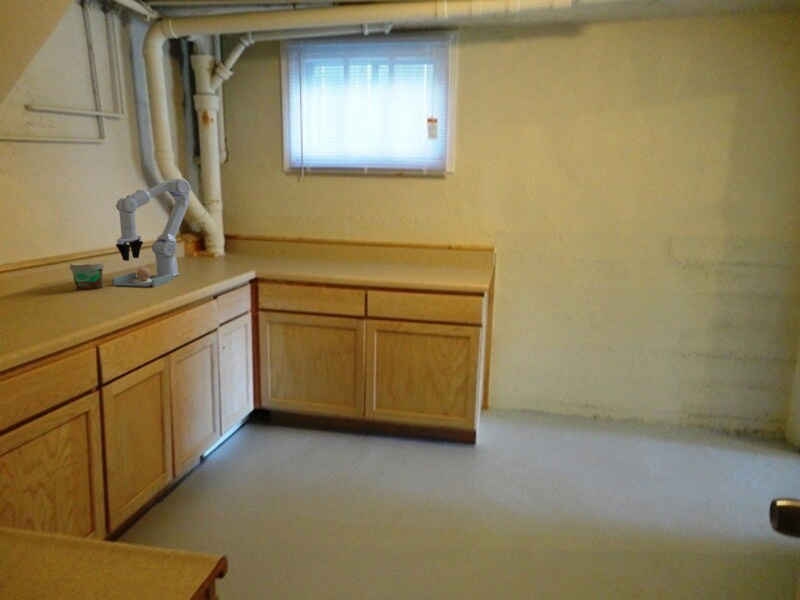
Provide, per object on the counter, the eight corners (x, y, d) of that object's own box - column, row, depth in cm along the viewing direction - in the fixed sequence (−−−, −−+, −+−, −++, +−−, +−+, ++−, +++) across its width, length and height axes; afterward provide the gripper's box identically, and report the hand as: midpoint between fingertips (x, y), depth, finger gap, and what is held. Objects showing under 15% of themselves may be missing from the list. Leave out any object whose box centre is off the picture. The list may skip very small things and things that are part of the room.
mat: (139, 278, 253) (139, 276, 253) (170, 279, 251) (169, 277, 251) (115, 286, 235) (115, 284, 235) (148, 287, 234) (148, 285, 234)
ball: (142, 280, 247) (143, 267, 247) (153, 281, 245) (154, 268, 245) (133, 280, 241) (133, 267, 241) (144, 280, 240) (144, 267, 240)
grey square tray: (133, 278, 252) (133, 272, 251) (173, 280, 250) (172, 273, 250) (112, 285, 237) (111, 278, 236) (154, 287, 235) (153, 279, 234)
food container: (68, 291, 225) (65, 266, 223) (72, 288, 231) (69, 263, 228) (102, 290, 228) (100, 265, 226) (106, 287, 234) (103, 262, 232)
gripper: (128, 225, 249) (131, 256, 252) (109, 228, 235) (112, 261, 238) (144, 225, 249) (147, 257, 252) (125, 228, 235) (128, 262, 238)
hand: (131, 259), depth 245 cm, fingers open, 7 cm apart
